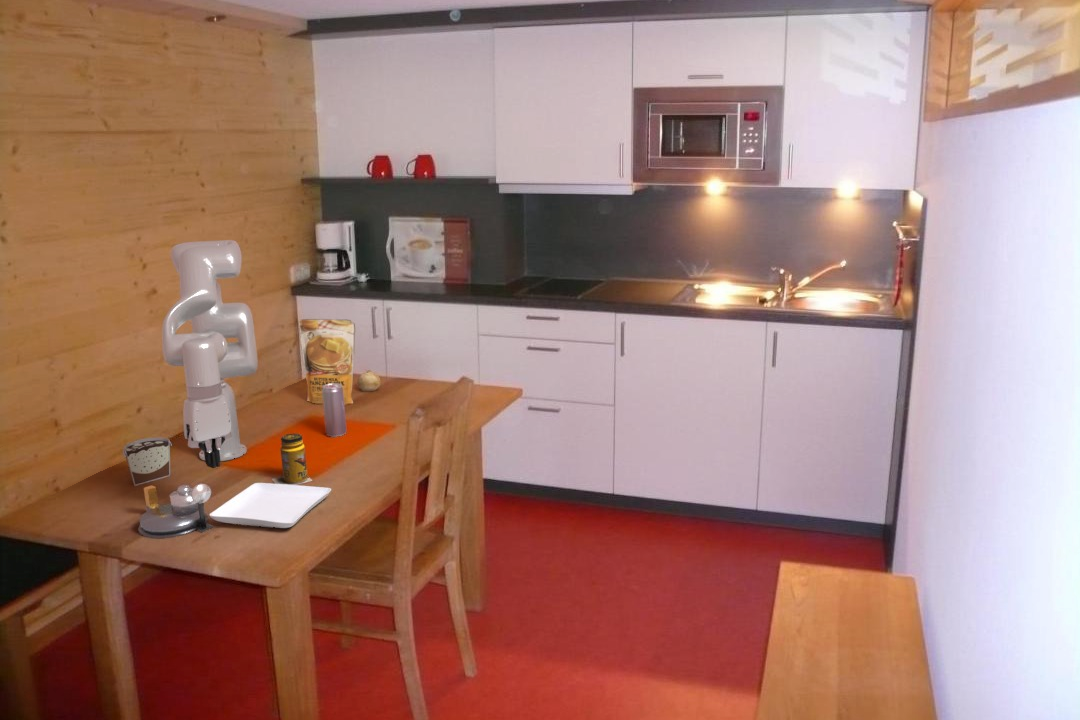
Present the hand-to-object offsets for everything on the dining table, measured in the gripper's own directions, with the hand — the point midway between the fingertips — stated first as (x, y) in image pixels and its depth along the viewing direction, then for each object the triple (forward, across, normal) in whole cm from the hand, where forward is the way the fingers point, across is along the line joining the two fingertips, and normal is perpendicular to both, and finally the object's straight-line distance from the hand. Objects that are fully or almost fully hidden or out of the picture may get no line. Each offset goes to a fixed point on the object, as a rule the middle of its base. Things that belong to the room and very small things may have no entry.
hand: (213, 466), depth 217 cm
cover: (+9, +8, -1) cm, 11 cm away
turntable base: (+11, +11, -1) cm, 16 cm away
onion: (+9, -89, -53) cm, 104 cm away
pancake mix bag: (+9, -72, -52) cm, 89 cm away
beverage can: (+10, -52, -23) cm, 58 cm away
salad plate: (+12, -7, +12) cm, 18 cm away
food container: (+10, 0, -35) cm, 36 cm away
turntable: (+10, +11, -3) cm, 15 cm away
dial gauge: (+11, +8, +7) cm, 16 cm away
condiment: (+11, -22, -2) cm, 25 cm away
